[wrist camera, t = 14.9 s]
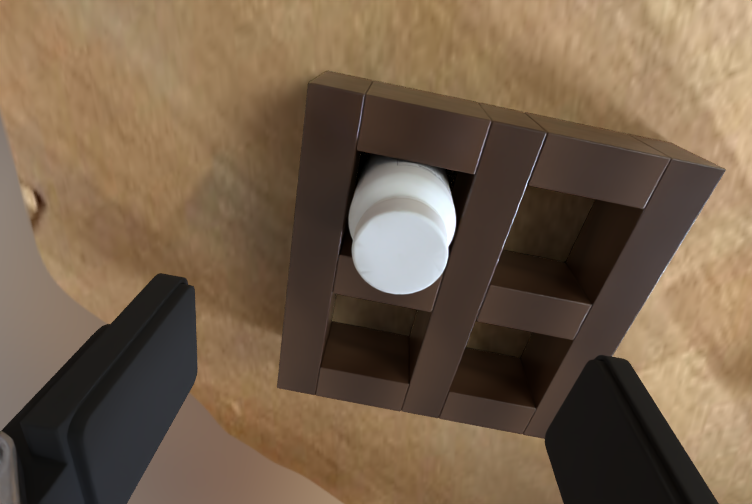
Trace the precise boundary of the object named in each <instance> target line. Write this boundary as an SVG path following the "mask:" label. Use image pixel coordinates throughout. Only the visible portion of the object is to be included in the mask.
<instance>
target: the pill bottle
mask: <svg viewBox="0 0 752 504" xmlns="http://www.w3.org/2000/svg"><path fill="white" fill-rule="evenodd" d="M455 227H456V215H455V208H454V204H453V200H452V196H451V192H450V187H449V182H448V178H447V174H446V170H445V168H440V167H435V166H430V165H425V164H421V163H416V162H411V161H406V160H401V159H396V158H391V157H387V156H382V155H377V154H371V155H370V156H369V158H368V159H367V160H366V162H365V164H364V166H363V168H362V171H361V174H360V178H359V181H358V184H357V187H356V190H355V194H354V197H353V200H352V203H351V207H350V211H349V229H350V234H351V237H352V239H353V243H352V258H353V262H354V265H355V268H356V270H357V271H358V273H359V274H360V276H361V277H362V278H363V279H364V280H365V281H366V282H367V283H368V284H369V285H371V286H372V287H374V288H376V289H378V290H380V291H383V292H386V293H391V294H410V293H414V292H418V291H421V290H423V289H425V288H427V287H428V286H430V285H431V284H433V283H434V282H435V281H436V280H437V279H438V278H439V277H440V276H441V274H442V272H443V271H444V269H445V266H446V264H447V259H448V246H449V245H450V243H451V241H452V238H453V236H454V232H455Z"/></svg>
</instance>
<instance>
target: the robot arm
mask: <svg viewBox="0 0 752 504" xmlns="http://www.w3.org/2000/svg"><path fill="white" fill-rule="evenodd" d="M196 376H197V340H196V310H195V289H194V286H191V285H188V281H187V279H186V278H183V277H178V276H172V275H167V274H162V273H160V274H157V275H156V276H155V277H154V278H153V279H152V280H151V281H150V282H149V283H148V284H147V285H146V287H145V288H144V289H143V290H142V291H141V292H140V293H139V294H138V295H137V296H136V297H135V298H134V299H133V301H132V302H131V303H130V304H129V305H128V306H127V307H126V308H125V309H124V310H123V311H122V312H121V313H120V315H119V316H118V317H117V318H116V319H115V320H114V321H113V322H112V323H111V324H107V325H104V326H102V327H101V328H100V329H98V330H97V331H96V332H95V333H94V334H93V335H92V336H91V337H90V338H89V339H88V340H87V341H86V343H85V344H84V345H83V346H82V347H81V348H80V349H79V350H78V351H77V352H76V353H75V354H74V355H73V356H72V357H71V358H70V359H69V360H68V361H67V363H66V364H65V365H64V366H63V367H62V368H61V369H60V370H59V371H58V372H57V373H56V374H55V375H54V376H53V377H52V378H51V379H50V381H48V382H47V383H46V384H45V386H44V387H43V388H42V389H41V390H40V391H39V392H38V393H37V394H36V395H35V396H34V397H33V398H32V399H31V400H30V401H29V402H28V403H27V404H26V405H25V406H24V408H23V409H22V410H21V411H20V412H19V413H18V414H17V415H16V416H15V417H14V418H13V419H12V420H11V421H10V422H9V423H8V424H7V425H6V426H5V427H4V429H3V430H2V431H0V504H127V502H128V500H129V499H130V497H131V495H132V493H133V492H134V490H135V488H136V486H137V484H138V482H139V481H140V479H141V477H142V475H143V474H144V472H145V470H146V468H147V467H148V465H149V463H150V461H151V459H152V458H153V456H154V454H155V452H156V451H157V449H158V447H159V445H160V443H161V442H162V440H163V438H164V436H165V434H166V433H167V431H168V429H169V427H170V426H171V424H172V422H173V420H174V418H175V417H176V415H177V413H178V411H179V409H180V408H181V406H182V404H183V402H184V401H185V399H186V397H187V395H188V393H189V392H190V390H191V388H192V386H193V384H194V382H195V379H196ZM545 446H546V450H547V453H548V456H549V459H550V462H551V465H552V468H553V472H554V475H555V478H556V481H557V484H558V487H559V490H560V493H561V497H562V500H563V503H564V504H719V503H718V502H717V500H716V499H715V497H714V496H713V494H712V492H711V491H710V489H709V488H708V486H707V484H706V483H705V481H704V480H703V478H702V477H701V475H700V473H699V472H698V470H697V469H696V467H695V465H694V464H693V462H692V461H691V459H690V458H689V456H688V454H687V453H686V451H685V450H684V448H683V446H682V445H681V443H680V442H679V440H678V439H677V437H676V435H675V434H674V432H673V431H672V429H671V427H670V426H669V424H668V423H667V421H666V420H665V418H664V416H663V415H662V413H661V412H660V410H659V408H658V407H657V405H656V404H655V402H654V401H653V399H652V397H651V396H650V394H649V393H648V391H647V389H646V388H645V386H644V385H643V383H642V382H641V380H640V378H639V377H638V375H637V374H636V372H635V371H634V369H633V367H632V366H631V364H630V363H629V362H628V361H627V360H625V359H621V358H616V357H611V356H605V355H598V356H597V357H596V358H595V359H594V360H589V361H588V362H587V363H586V365H585V367H584V368H583V370H582V372H581V373H580V375H579V377H578V379H577V380H576V382H575V384H574V385H573V387H572V389H571V390H570V392H569V394H568V395H567V397H566V399H565V400H564V402H563V404H562V406H561V407H560V409H559V411H558V412H557V414H556V416H555V417H554V419H553V421H552V422H551V424H550V426H549V427H548V429H547V431H546V434H545Z"/></svg>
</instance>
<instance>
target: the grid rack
mask: <svg viewBox="0 0 752 504" xmlns="http://www.w3.org/2000/svg"><path fill="white" fill-rule="evenodd" d="M361 151H362V152H367V153H372V154H377V155H382V156H387V157H391V158H396V159H401V160H406V161H411V162H416V163H421V164H425V165H430V166H435V167H440V168H445V169H450V170H455V171H458V173H457V176H456V180H455V183H454V186H453V190H452V193H451V196H452V200H453V204H454V208H455V215H456V227H455V232H454V236H453V238H452V241H451V243H450V245H449V246H448V259H447V264H446V266H445V269H444V271H443V272H442V274H441V276H440V277H439V278H438V279H437V280H436V281H435V282H434V283H433V284H431V285H430V286H428V287H427V288H425V289H423V290H421V291H418V292H414V293H410V294H391V293H386V292H383V291H380V290H378V289H376V288H374V287H372V286H371V285H369V284H368V283H367V282H366V281H365V280H364V279H363V278H362V277H361V276H360V274H359V273H358V271H357V270H356V268H355V265H354V262H353V258H352V243H353V239H352V237H351V234H350V229H349V211H350V207H351V203H352V200H353V196H354V190H355V184H356V178H357V172H358V167H359V161H360V155H361ZM725 171H726V169H724V168H722V167H720V166H718V165H716V164H714V163H712V162H710V161H708V160H706V159H703V158H701V157H699V156H697V155H695V154H693V153H691V152H689V151H687V150H685V149H683V148H681V147H679V146H677V145H675V144H673V143H670V142H665V141H660V140H655V139H651V138H646V137H641V136H636V135H632V134H626V133H622V132H617V131H612V130H608V129H603V128H598V127H593V126H588V125H584V124H579V123H574V122H569V121H565V120H560V119H555V118H550V117H546V116H541V115H536V114H531V113H527V112H525V113H523V112H521V111H517V110H512V109H507V108H502V107H498V106H493V105H488V104H483V103H477V102H474V101H469V100H465V99H460V98H455V97H450V96H446V95H441V94H436V93H431V92H427V91H422V90H417V89H412V88H408V87H403V86H398V85H393V84H388V83H384V82H379V81H372V80H369V79H364V78H360V77H355V76H350V75H345V74H341V73H336V72H331V71H326V72H324V73H323V74H321V75H319V76H318V77H316V78H315V79H313V80H312V81H310V82H309V83H308V88H307V98H306V108H305V118H304V127H303V137H302V147H301V157H300V167H299V177H298V186H297V196H296V206H295V216H294V226H293V235H292V245H291V255H290V265H289V275H288V284H287V294H286V304H285V314H284V324H283V334H282V343H281V353H280V363H279V373H278V383H277V388H280V389H285V390H291V391H296V392H301V393H306V394H312V395H315V394H316V396H322V397H327V398H332V399H337V400H343V401H348V402H353V403H359V404H364V405H369V406H374V407H380V408H385V409H390V410H396V411H403V412H408V413H413V414H418V415H424V416H429V417H434V418H440V419H444V420H449V421H454V422H460V423H465V424H470V425H476V426H481V427H486V428H492V429H497V430H502V431H507V432H513V433H518V434H523V435H528V436H533V437H538V438H544V439H545V434H546V431H547V429H548V427H549V426H550V424H551V422H552V421H553V419H554V417H555V416H556V414H557V412H558V411H559V409H560V407H561V406H562V404H563V402H564V400H565V399H566V397H567V395H568V394H569V392H570V390H571V389H572V387H573V385H574V384H575V382H576V380H577V379H578V377H579V375H580V373H581V372H582V370H583V368H584V367H585V365H586V363H587V362H588V361H589V360H594V359H595V358H596V357H597V356H598V355H605V356H611V357H612V356H613V354H614V352H615V351H616V349H617V347H618V346H619V344H620V343H621V341H622V339H623V338H624V336H625V334H626V333H627V331H628V329H629V328H630V326H631V325H632V323H633V321H634V320H635V318H636V316H637V315H638V313H639V311H640V310H641V308H642V307H643V305H644V303H645V302H646V300H647V298H648V297H649V295H650V293H651V292H652V290H653V289H654V287H655V285H656V284H657V282H658V280H659V279H660V277H661V276H662V274H663V272H664V271H665V269H666V267H667V266H668V264H669V262H670V261H671V259H672V258H673V256H674V254H675V253H676V251H677V249H678V248H679V246H680V244H681V243H682V241H683V240H684V238H685V236H686V235H687V233H688V231H689V230H690V228H691V226H692V225H693V223H694V222H695V220H696V218H697V217H698V215H699V213H700V212H701V210H702V208H703V207H704V205H705V204H706V202H707V200H708V199H709V197H710V195H711V194H712V192H713V190H714V189H715V187H716V186H717V184H718V182H719V181H720V179H721V177H722V176H723V174H724V172H725ZM527 184H528V185H529V186H533V187H538V188H543V189H547V190H552V191H557V192H562V193H567V194H572V195H577V196H582V197H586V198H591V199H596V200H595V202H594V204H593V206H592V208H591V210H590V212H589V214H588V217H587V219H586V221H585V223H584V225H583V227H582V229H581V231H580V234H579V236H578V238H577V240H576V242H575V244H574V246H573V248H572V250H571V253H570V255H569V257H568V259H567V261H566V263H565V262H560V261H555V260H550V259H546V258H541V257H536V256H531V255H526V254H521V253H516V252H511V251H506V250H503V247H504V245H505V242H506V239H507V237H508V234H509V232H510V229H511V226H512V224H513V221H514V218H515V216H516V213H517V211H518V208H519V205H520V203H521V200H522V197H523V195H524V192H525V190H526V187H527ZM336 294H340V295H345V296H350V297H355V298H360V299H365V300H370V301H376V302H381V303H386V304H391V305H396V306H401V307H406V308H411V309H416V310H417V313H416V317H415V320H414V323H413V327H412V330H411V334H410V337H409V336H404V335H399V334H394V333H389V332H383V331H378V330H373V329H368V328H363V327H358V326H352V325H347V324H342V323H337V322H332V318H333V312H334V306H335V300H336ZM475 321H478V322H483V323H488V324H493V325H498V326H503V327H508V328H513V329H519V330H524V331H529V332H533V333H532V335H531V337H530V339H529V341H528V344H527V346H526V348H525V350H524V352H523V354H522V356H521V358H517V357H512V356H507V355H502V354H496V353H491V352H486V351H481V350H476V349H471V348H465V347H466V344H467V342H468V339H469V337H470V334H471V331H472V329H473V326H474V323H475Z"/></svg>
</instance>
